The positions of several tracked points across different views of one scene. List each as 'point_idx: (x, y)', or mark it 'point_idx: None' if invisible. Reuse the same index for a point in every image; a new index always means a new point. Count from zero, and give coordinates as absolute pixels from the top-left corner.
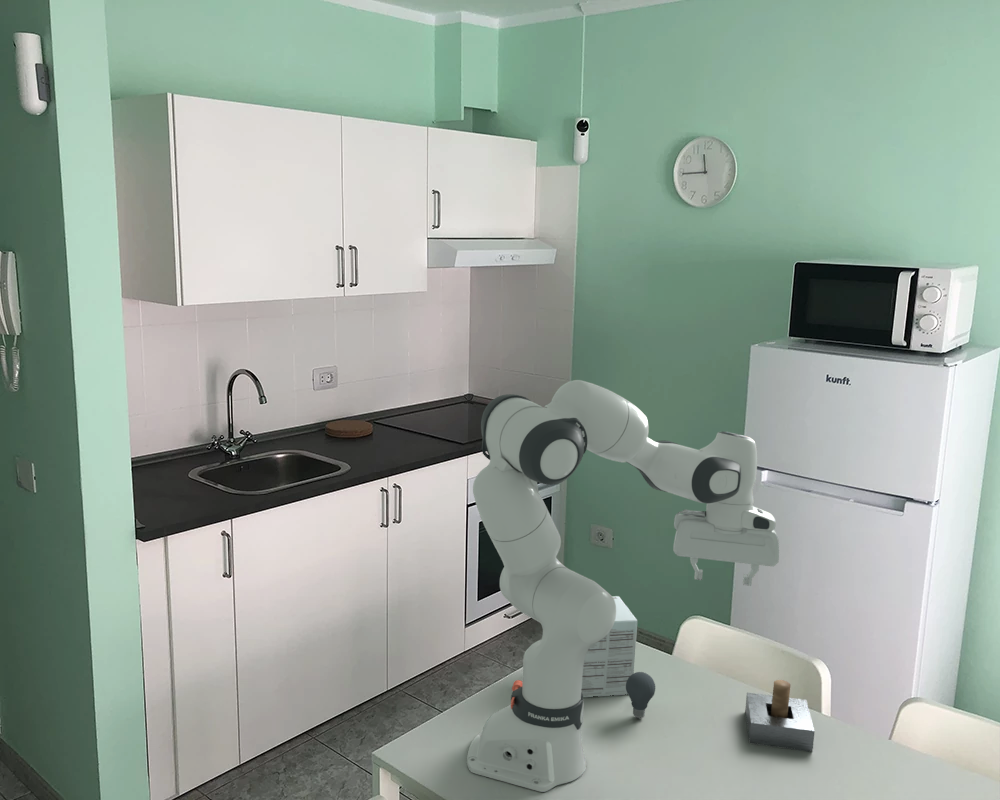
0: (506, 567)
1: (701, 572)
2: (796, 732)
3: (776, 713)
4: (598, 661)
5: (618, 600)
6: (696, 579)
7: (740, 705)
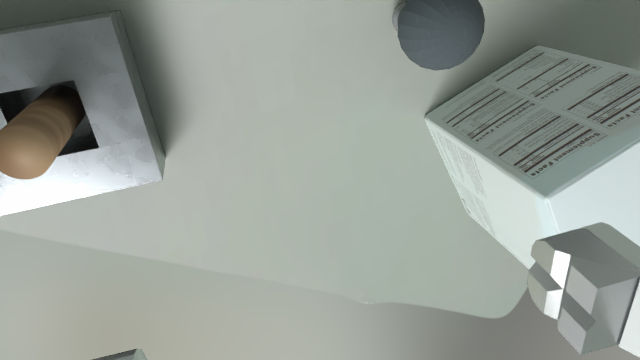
0: None
1: (606, 281)
2: None
3: (51, 100)
4: (558, 89)
5: None
6: (580, 229)
7: (182, 182)
